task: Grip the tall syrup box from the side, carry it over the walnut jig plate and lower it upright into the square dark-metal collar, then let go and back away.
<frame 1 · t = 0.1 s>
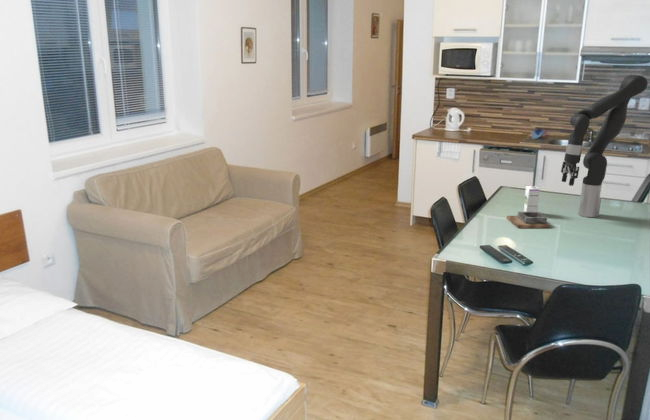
hand: (567, 183, 302), 17 cm above the table, tool pointing down, fingers open, 8 cm apart
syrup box: (529, 213, 309), on the table
jig: (531, 223, 292), on the table
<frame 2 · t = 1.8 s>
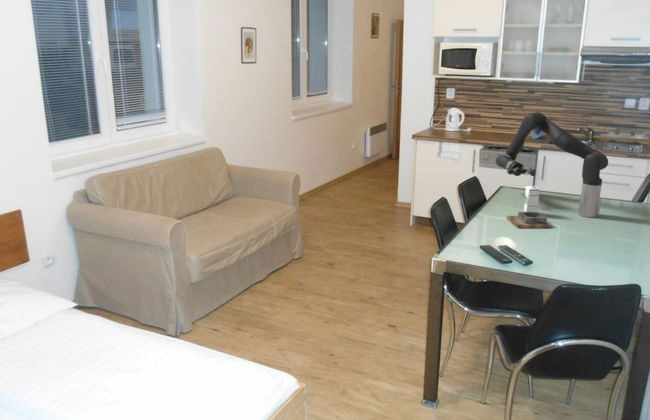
hand: (525, 174, 314), 19 cm above the table, tool horizontal, fingers open, 8 cm apart
nothing on the table moved.
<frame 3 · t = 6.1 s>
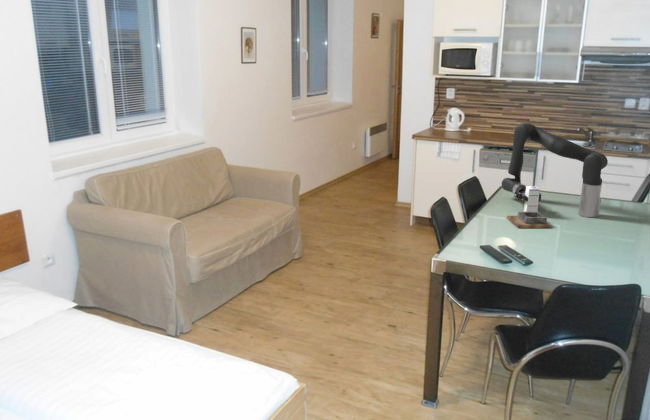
hand: (533, 199, 304), 9 cm above the table, tool horizontal, fingers closed on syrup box, 6 cm apart
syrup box: (529, 213, 309), on the table, touching gripper
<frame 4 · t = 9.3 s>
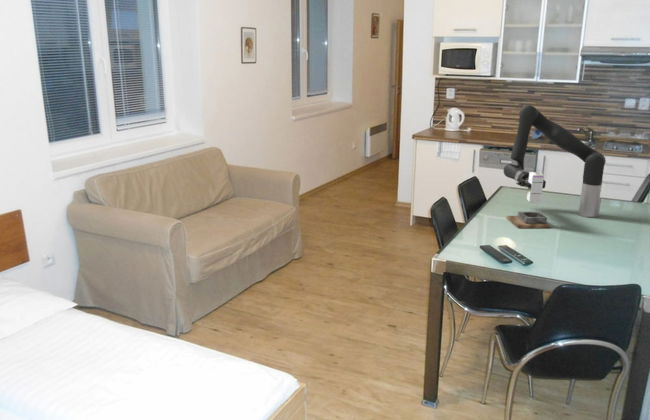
hand: (537, 186, 285), 20 cm above the table, tool horizontal, fingers closed on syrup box, 6 cm apart
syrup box: (533, 202, 289), point 11 cm above the table, touching gripper
when the fingers open (11 cm above the table, at t = 12.7 s): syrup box stays where it is, resting on jig.
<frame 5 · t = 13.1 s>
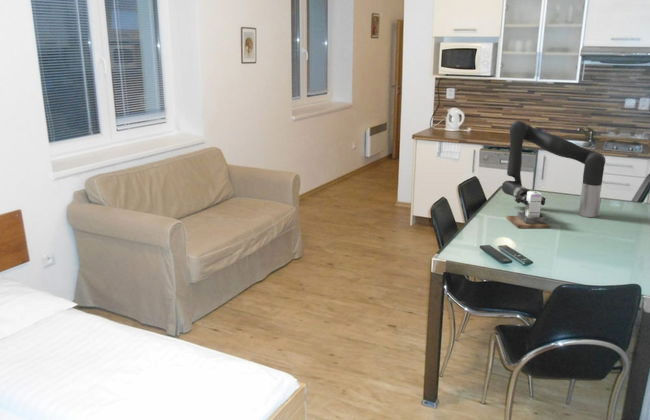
hand: (535, 203, 287), 11 cm above the table, tool horizontal, fingers open, 8 cm apart
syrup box: (531, 220, 292), point 1 cm above the table, touching jig
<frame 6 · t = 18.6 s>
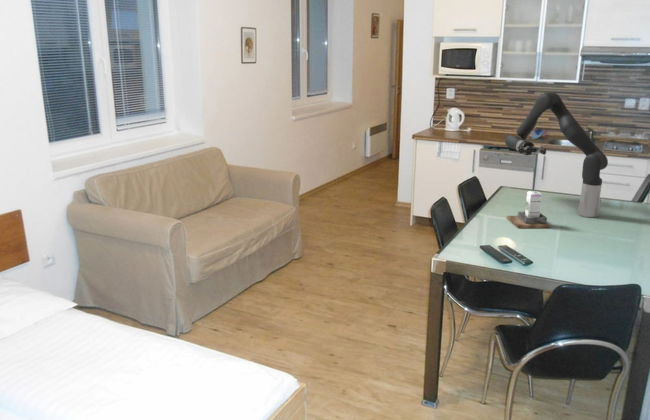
hand: (536, 152, 305), 32 cm above the table, tool horizontal, fingers open, 8 cm apart
nothing on the table moved.
at the end: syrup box 0.1 cm off-centre on the jig, point 1.3 cm above the jig's base; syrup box tilted 0°; the gripper is holding nothing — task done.
